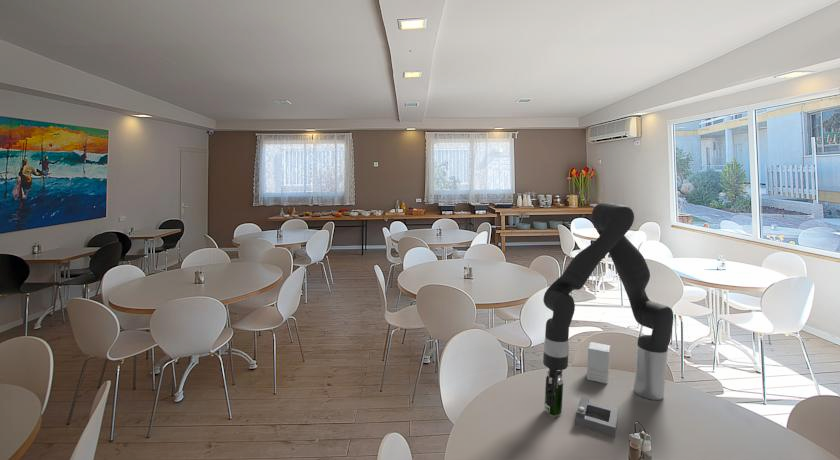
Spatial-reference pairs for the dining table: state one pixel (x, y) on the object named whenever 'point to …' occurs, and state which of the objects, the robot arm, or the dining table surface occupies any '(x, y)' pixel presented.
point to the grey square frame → (594, 423)
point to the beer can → (557, 407)
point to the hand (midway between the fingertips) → (553, 399)
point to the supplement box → (598, 362)
